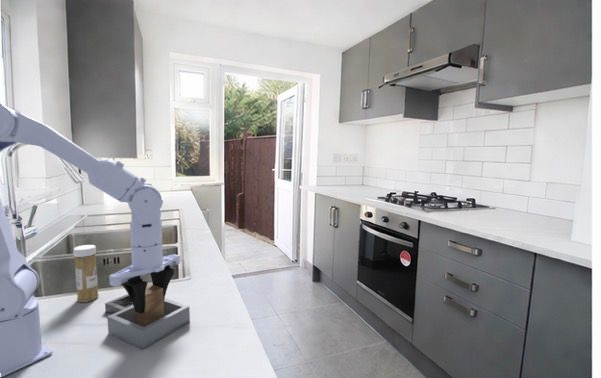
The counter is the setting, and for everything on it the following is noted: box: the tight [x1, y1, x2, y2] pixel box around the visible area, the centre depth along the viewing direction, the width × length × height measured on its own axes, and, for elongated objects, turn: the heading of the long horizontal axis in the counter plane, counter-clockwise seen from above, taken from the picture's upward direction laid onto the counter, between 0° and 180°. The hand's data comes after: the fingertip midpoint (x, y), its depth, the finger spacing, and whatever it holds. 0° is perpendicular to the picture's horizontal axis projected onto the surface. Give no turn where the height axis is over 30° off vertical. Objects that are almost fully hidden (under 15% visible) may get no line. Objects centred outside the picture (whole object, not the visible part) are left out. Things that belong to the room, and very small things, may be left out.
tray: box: [107, 297, 191, 350], centre depth 64 cm, size 11×11×4 cm
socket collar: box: [104, 293, 133, 315], centre depth 72 cm, size 7×7×2 cm
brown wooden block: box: [134, 283, 164, 327], centre depth 64 cm, size 4×4×7 cm
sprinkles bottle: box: [72, 244, 100, 303], centre depth 76 cm, size 5×5×13 cm
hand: (149, 307), depth 64 cm, fingers closed on brown wooden block, 4 cm apart
